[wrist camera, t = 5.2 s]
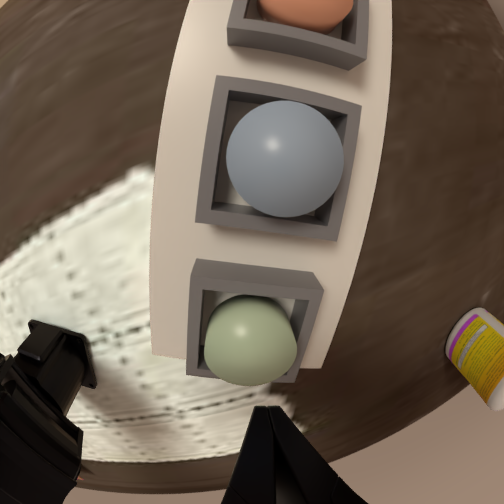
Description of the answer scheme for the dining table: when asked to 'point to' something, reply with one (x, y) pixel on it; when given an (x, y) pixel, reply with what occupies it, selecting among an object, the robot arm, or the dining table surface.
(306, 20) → the terracotta button
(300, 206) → the slate blue button
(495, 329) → the supplement bottle
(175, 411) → the dining table surface
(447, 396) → the dining table surface
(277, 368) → the sage button
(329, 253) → the button panel
